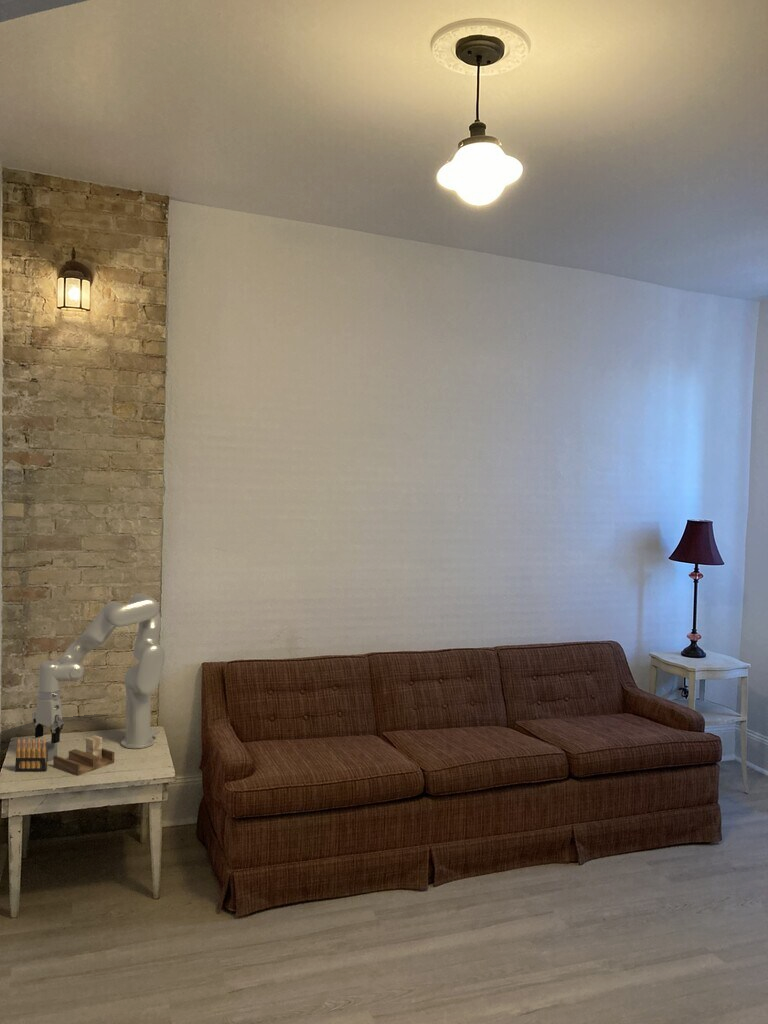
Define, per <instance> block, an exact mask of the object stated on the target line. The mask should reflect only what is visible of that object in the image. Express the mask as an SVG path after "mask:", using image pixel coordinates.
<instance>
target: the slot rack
mask: <svg viewBox="0 0 768 1024" xmlns="http://www.w3.org/2000/svg"><path fill="white" fill-rule="evenodd" d="M52 761H53V764H52V765H53V768H56V769H58V770H60V771H64V772H66V773H69V774H72V775H75V776H77V777H78V776H81V775H83V774H84V775H85V774H86V773H89V772H92V771H95V770H98V769H100V768H104V767H106V766H109V765H112V764H114V763H115V751H112V750H109V749H105V748H103V747H102V758H101V759H100V757H98V756H95V755H92V754H89V753H86V751H83V750H80V749H76V748H74V749H71V750H69V751H68V759H67V758H66V757H65V758H64V757H62V756H58V755H57V756H56V755H55V756H53V760H52ZM103 766H104V767H103Z"/></svg>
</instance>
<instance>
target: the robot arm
mask: <svg viewBox="0 0 768 1024" xmlns="http://www.w3.org/2000/svg"><path fill="white" fill-rule="evenodd" d="M135 624H138V629H137V633H136V638H135V642H134V646H133V650H132V651H133V657H134V659H136V661H138V662H139V663H138V664H134V665H131V666H130V667H129V668H128V669H127V670H126V671H125V675H124V689H125V736H124V738H123V739H122V740H121V742H120V745H121V746H122V747H124V748H125V749H126V748H127V749H132V750H133V749H144V748H148V747H151V746H152V745H154V743H155V739H154V738H153V737H154V736H155V735H158V734H160V730H159V728H156V729H152V728H151V717H152V716H151V712H152V711H151V710H152V709H151V708H152V694H153V693H154V692H155V691H156V690H157V689H158V687H159V684H160V682H161V677H162V671H163V669H164V668H163V667H164V664H165V658H166V656H165V650H164V648H163V646H162V645H160V644H159V639H160V633H161V628H162V618H161V614H160V604H159V602H158V600H156V599H155V598H153V597H152V596H149V595H147V594H145V593H141V592H140V593H139V592H138V593H136V594H134V595H132V597H131V598H130V601H129V603H128V602H127V603H121V602H118V601H109V602H107V603H106V604H105V605H104V606H103V607H102V608H101V609H100V611H99V612H98V614H96V617H94V619H93V621H92V622H91V623H90V624H89V626H88V627H87V628H86V629H85V631H84V632H83V633H82V634H80V636H78V637H77V638H76V639H75V640H74V641H72V642H71V644H70V645H68V647H67V648H66V650H65V651H64V652H63V653H62V655H61V656H60V657H59V659H58V661H56V660H46V661H42V662H41V663H40V664H39V668H38V669H39V670H38V693H37V701H36V708H35V712H33V713H32V718H33V723H34V724H33V726H34V728H35V729H34V739H37V738H38V739H39V738H42V737H44V726H46V727H49V728H50V729H51V731H52V733H51V738H50V741H51V743H52V744H54V743H57V744H58V743H60V738H61V732H62V730H63V727H64V725H65V722H64V720H63V708H62V707H63V706H62V700H61V698H60V697H61V696H60V695H61V682H70V683H71V682H76V681H79V680H80V679H82V678H83V676H84V673H85V668H84V666H83V665H82V663H81V661H82V660H83V659H84V658H85V657H86V655H88V654H89V653H90V652H91V651H93V650H94V649H97V648H100V647H102V646H103V645H104V644H106V642H107V640H108V639H109V638H110V636H111V635H112V633H113V632H114V631H115V629H116V628H120V627H122V628H123V627H127V626H131V625H135Z"/></svg>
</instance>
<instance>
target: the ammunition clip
mask: <svg viewBox="0 0 768 1024" xmlns="http://www.w3.org/2000/svg"><path fill="white" fill-rule="evenodd" d="M46 742H47V741H46V739H45V738H43V740H42V743H41V739H40V738H38V739H37V742H36V738H35V737H34V738H32V743H31V739H30V738H29V737H28V739H27V742H26V740H25V738H22V741H21V740H20V738H17V741H16V751H15V765H14V772H15V773H29V772H30V773H36V772H37V773H41V772H42V773H44V772H47V771H48V762H47V756H46ZM41 744H42V756H41Z"/></svg>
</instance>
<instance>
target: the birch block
mask: <svg viewBox="0 0 768 1024" xmlns="http://www.w3.org/2000/svg"><path fill="white" fill-rule="evenodd" d="M102 748H103V737H101V736H99V735H95V734H94V735H92V736H89V737H85V752H86V753H89V754H92V755H95V756H98V757H100V759H101V758H102Z"/></svg>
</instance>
